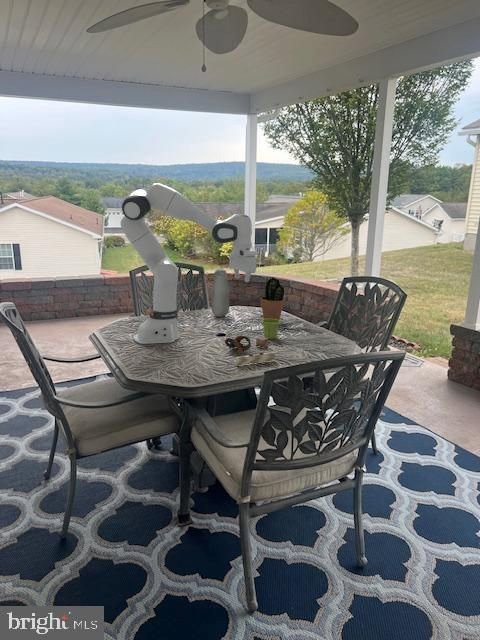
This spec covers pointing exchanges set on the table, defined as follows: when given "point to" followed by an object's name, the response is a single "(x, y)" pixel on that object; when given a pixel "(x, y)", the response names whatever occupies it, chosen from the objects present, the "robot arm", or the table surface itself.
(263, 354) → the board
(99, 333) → the table surface
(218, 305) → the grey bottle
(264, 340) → the walnut block
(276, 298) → the potted plant
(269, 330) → the plant pot
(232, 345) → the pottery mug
